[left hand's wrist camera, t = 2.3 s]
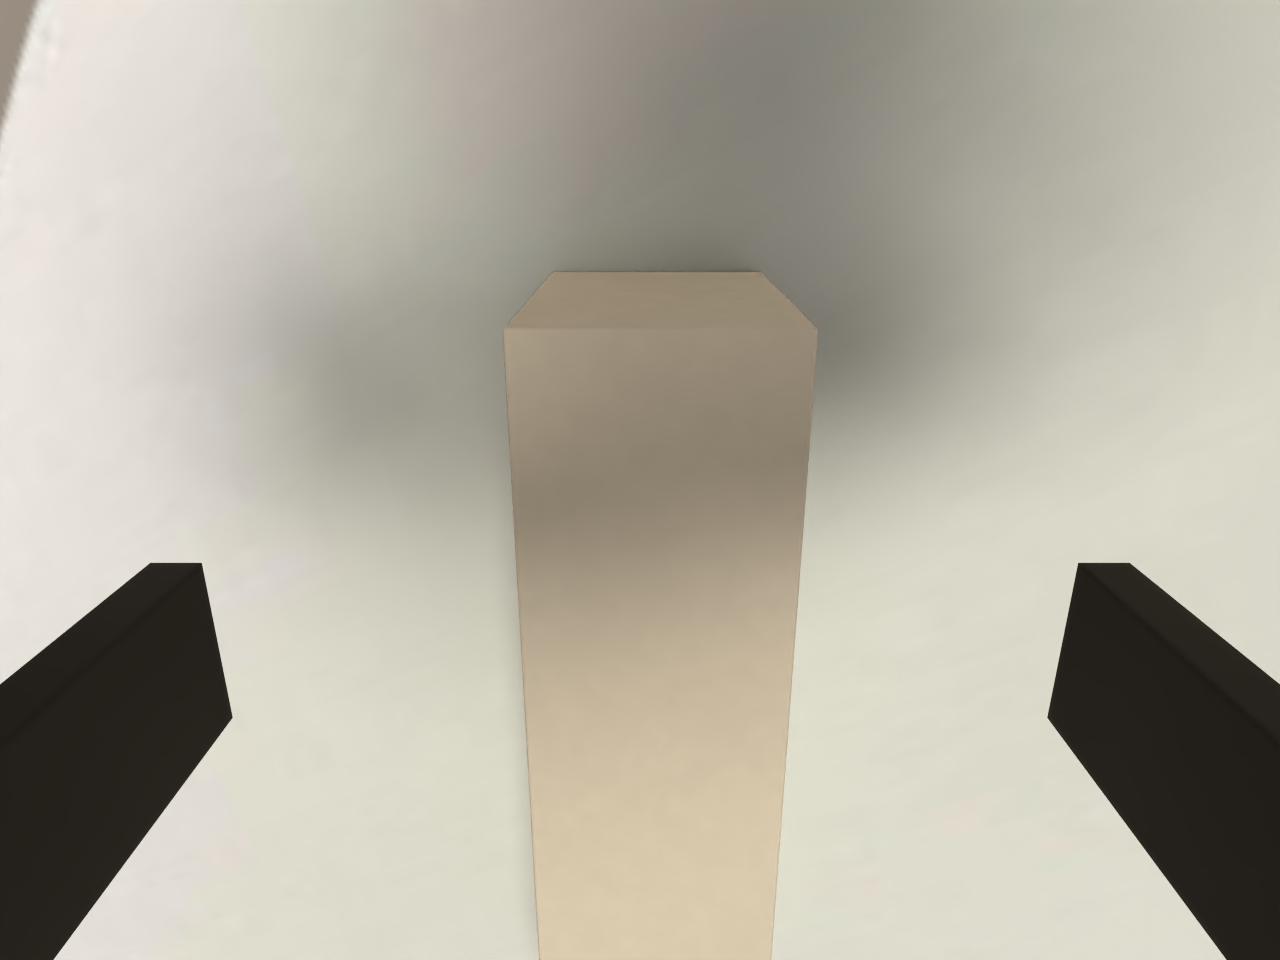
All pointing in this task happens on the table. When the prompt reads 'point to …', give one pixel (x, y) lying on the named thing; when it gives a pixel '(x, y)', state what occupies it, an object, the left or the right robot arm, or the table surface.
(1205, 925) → the left robot arm
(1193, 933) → the table surface
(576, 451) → the bar
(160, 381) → the table surface
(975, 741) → the table surface
